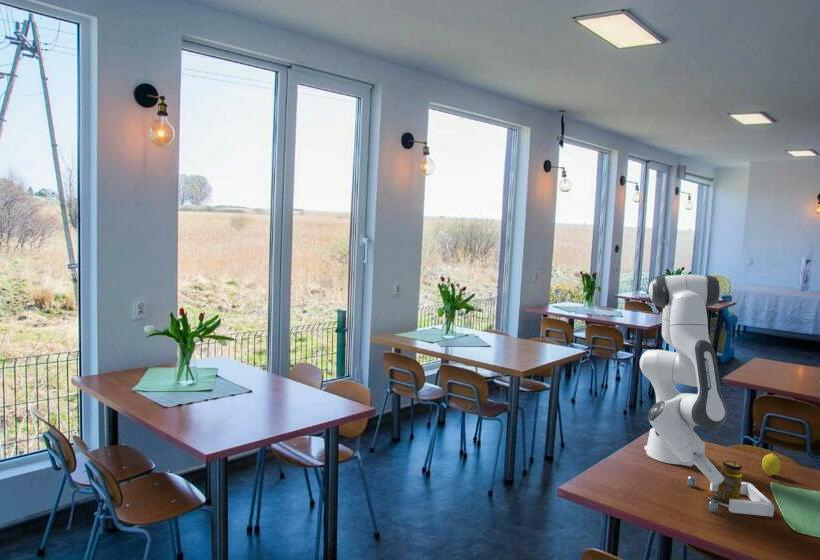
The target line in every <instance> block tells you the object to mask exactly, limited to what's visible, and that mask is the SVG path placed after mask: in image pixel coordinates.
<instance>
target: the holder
mask: <svg viewBox="0 0 820 560" xmlns="http://www.w3.org/2000/svg"><path fill="white" fill-rule="evenodd" d="M709 486H710V487H709V490H710V491H711V492H717V493H718V485H717V486H715V485H714V484H713V483H712V482H711V481H710V485H709ZM740 495H745V496H747V497H748V498H749V500H745V499H739V500H737V499H730V502H729V508H728V511H729V513H734V514H744V515H751V516H752V515H754V516H762V517H772V518H773V517H774V514H775V505H774V503H773V502H771V500H770V499H768V498H767V497H766V496H765V495H764V494H763V493H762V492H760V491H759V489H757V488H756V487H755V485H754V484H752V483H751V482H748V481H747V482H746V481H741V489H740Z"/></svg>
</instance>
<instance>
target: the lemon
mask: <svg viewBox="0 0 820 560" xmlns="http://www.w3.org/2000/svg"><path fill="white" fill-rule="evenodd" d="M761 467H762V469H763V471H764V473H766V474H767V475H768V476H769V477H770V476H773V475H776V474H778V473H779V472H780V470H781V460H780V459H779V457H778V456H777V455H776V454H774V453H773V452H772V453H768V454H766V455H764V457H763V458H762V461H761Z"/></svg>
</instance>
